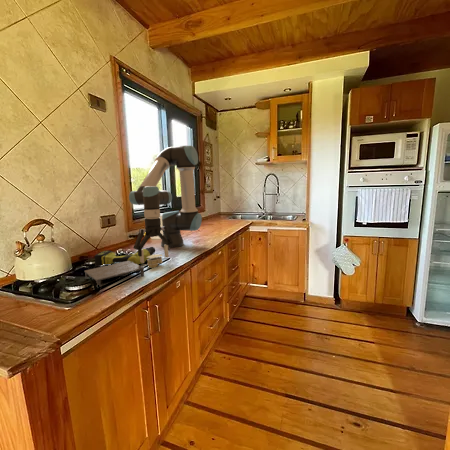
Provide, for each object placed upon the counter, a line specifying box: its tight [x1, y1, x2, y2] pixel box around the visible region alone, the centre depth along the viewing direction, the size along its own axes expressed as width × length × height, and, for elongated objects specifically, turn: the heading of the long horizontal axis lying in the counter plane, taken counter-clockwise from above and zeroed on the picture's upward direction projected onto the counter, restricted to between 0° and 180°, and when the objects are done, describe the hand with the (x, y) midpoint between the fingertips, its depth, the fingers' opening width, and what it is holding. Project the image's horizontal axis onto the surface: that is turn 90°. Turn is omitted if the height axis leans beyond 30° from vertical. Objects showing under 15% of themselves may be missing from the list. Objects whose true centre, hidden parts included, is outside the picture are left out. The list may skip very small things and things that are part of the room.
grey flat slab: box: [83, 261, 145, 288], centre depth 111 cm, size 20×16×4 cm
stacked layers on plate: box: [146, 253, 163, 269], centre depth 127 cm, size 10×9×6 cm
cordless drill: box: [94, 246, 156, 266], centre depth 137 cm, size 7×25×25 cm
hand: (154, 259), depth 127 cm, fingers open, 13 cm apart
